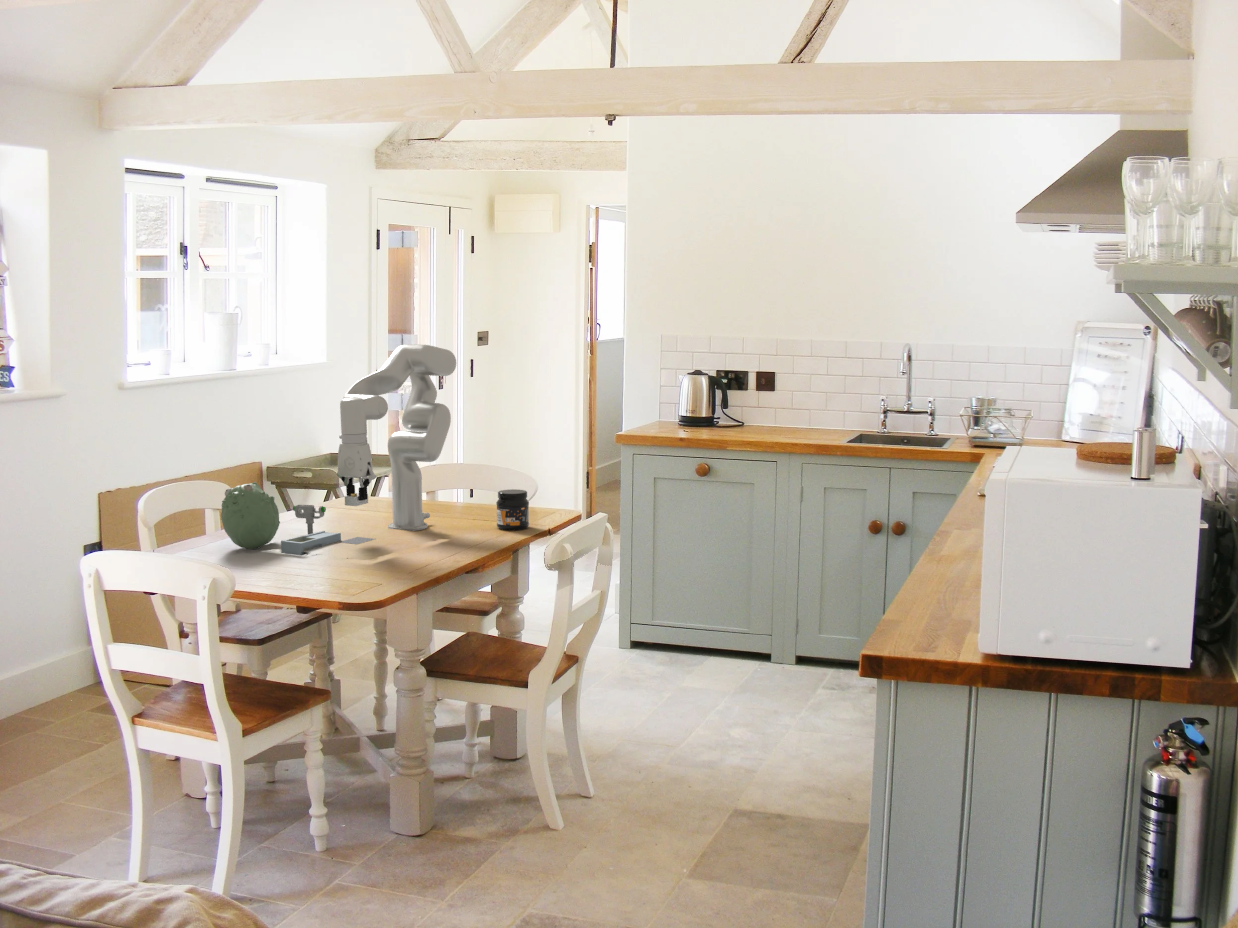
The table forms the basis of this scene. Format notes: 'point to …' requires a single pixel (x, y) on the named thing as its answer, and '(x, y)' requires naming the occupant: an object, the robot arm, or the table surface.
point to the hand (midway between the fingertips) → (357, 498)
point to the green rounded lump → (249, 516)
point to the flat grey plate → (357, 540)
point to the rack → (308, 542)
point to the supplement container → (512, 510)
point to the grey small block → (354, 500)
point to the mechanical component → (308, 514)
